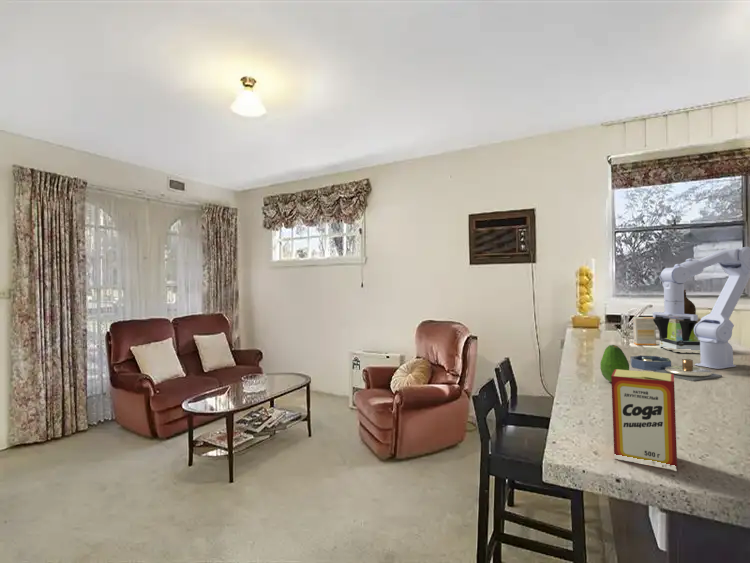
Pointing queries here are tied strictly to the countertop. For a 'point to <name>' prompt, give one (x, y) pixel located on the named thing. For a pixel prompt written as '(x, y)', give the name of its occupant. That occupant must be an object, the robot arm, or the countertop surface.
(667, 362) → the tin
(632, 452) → the baking soda box
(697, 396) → the countertop surface
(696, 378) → the coaster
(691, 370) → the lid
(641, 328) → the supplement box
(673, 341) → the tea box
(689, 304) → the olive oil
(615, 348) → the avocado
